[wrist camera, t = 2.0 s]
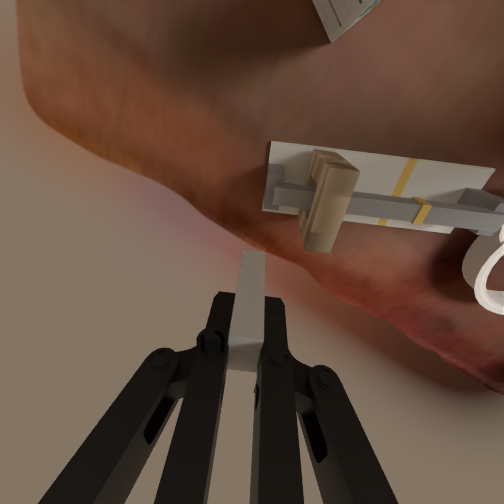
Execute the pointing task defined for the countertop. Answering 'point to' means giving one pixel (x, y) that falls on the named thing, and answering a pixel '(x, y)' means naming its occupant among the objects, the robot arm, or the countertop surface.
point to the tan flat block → (326, 199)
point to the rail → (391, 190)
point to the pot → (484, 269)
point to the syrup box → (341, 14)
